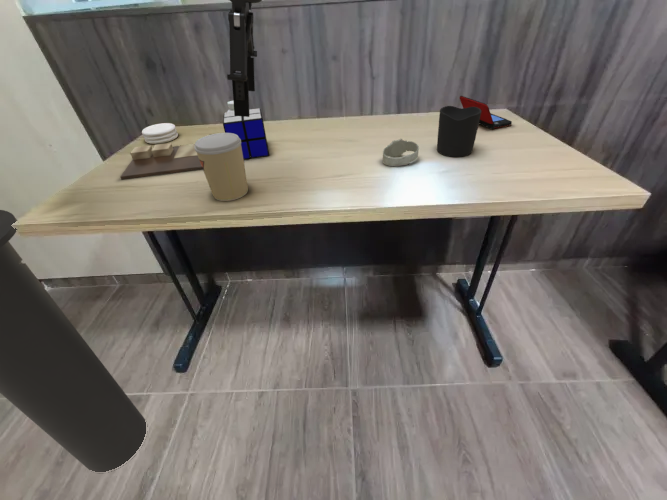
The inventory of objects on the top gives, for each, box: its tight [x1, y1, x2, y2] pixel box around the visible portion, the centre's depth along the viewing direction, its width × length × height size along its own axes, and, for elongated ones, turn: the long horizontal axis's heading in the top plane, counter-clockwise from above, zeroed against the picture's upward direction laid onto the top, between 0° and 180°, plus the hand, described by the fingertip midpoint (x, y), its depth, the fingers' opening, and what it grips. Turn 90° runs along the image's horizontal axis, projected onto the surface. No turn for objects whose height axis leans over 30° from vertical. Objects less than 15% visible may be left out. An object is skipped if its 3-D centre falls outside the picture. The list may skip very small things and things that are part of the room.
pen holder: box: [436, 105, 481, 158], centre depth 87 cm, size 9×9×10 cm
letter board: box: [120, 142, 203, 180], centre depth 95 cm, size 22×18×3 cm
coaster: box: [141, 122, 179, 145], centre depth 110 cm, size 10×10×4 cm
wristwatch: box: [382, 138, 420, 167], centre depth 85 cm, size 9×6×5 cm
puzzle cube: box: [222, 107, 270, 160], centre depth 95 cm, size 10×10×10 cm
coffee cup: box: [194, 132, 249, 202], centre depth 75 cm, size 9×9×12 cm
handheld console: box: [459, 95, 513, 130], centre depth 103 cm, size 12×11×7 cm
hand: (245, 102), depth 72 cm, fingers open, 13 cm apart
